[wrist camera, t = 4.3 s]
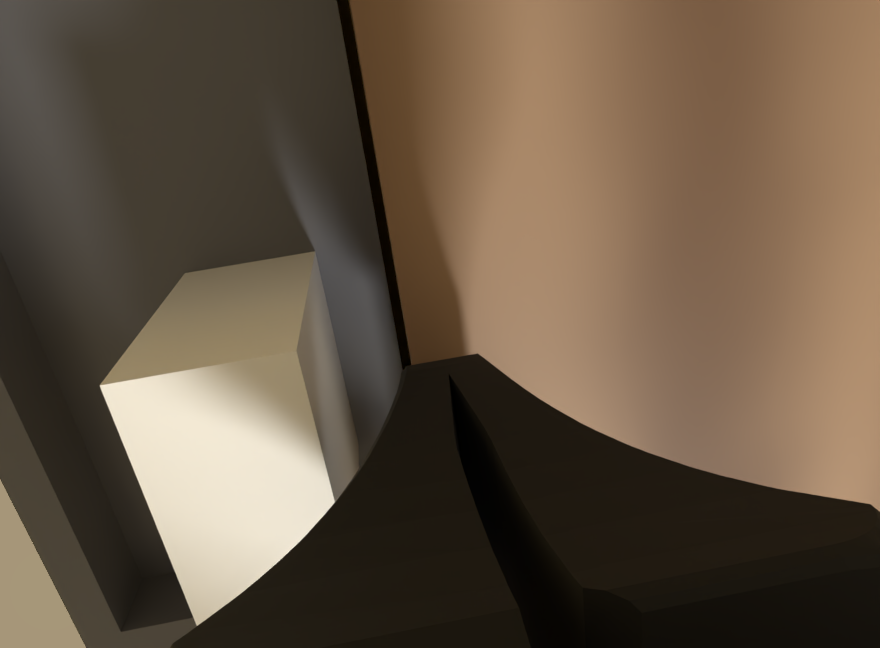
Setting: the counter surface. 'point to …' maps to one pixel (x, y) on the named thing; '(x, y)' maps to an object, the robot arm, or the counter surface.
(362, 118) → the counter surface
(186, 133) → the tray
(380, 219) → the counter surface
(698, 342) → the walnut board
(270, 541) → the white tile
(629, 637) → the robot arm
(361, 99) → the counter surface
